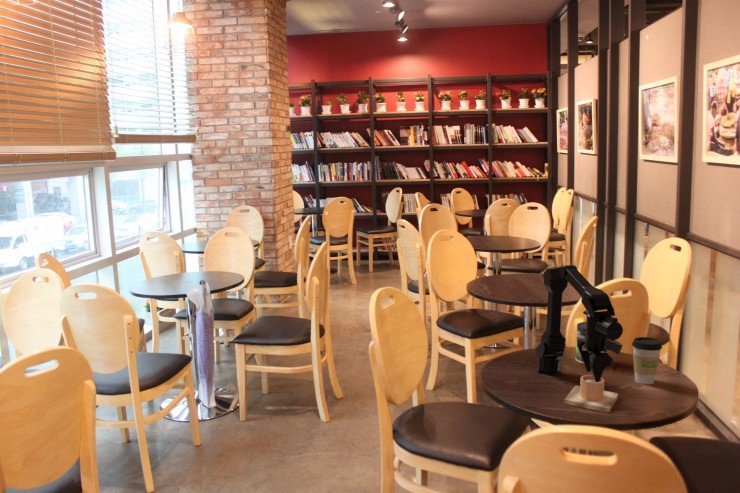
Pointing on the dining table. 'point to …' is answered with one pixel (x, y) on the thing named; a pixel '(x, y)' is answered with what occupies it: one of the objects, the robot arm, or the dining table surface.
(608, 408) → the duct mount
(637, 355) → the coffee cup
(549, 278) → the robot arm
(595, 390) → the collar sleeve
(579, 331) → the coffee can
